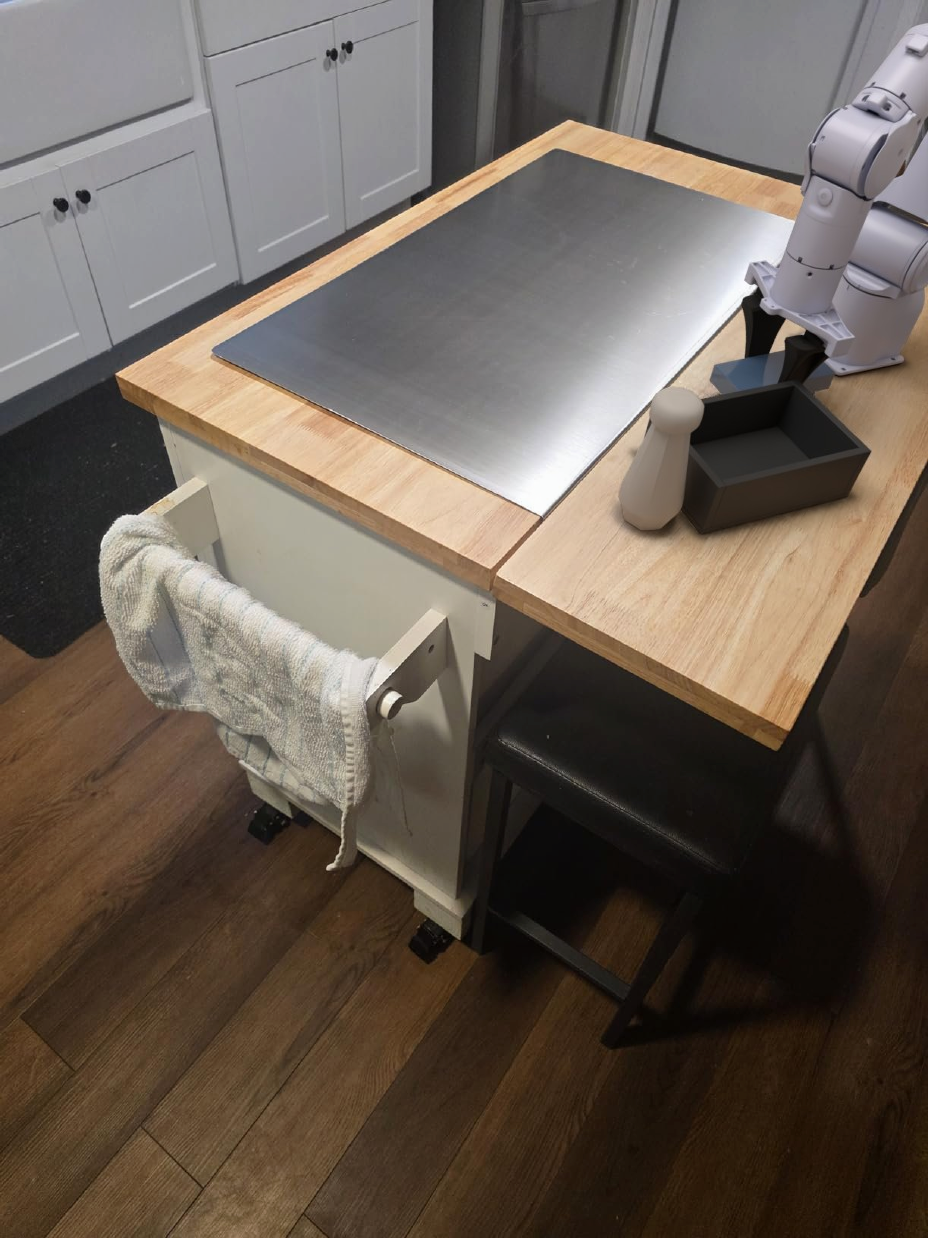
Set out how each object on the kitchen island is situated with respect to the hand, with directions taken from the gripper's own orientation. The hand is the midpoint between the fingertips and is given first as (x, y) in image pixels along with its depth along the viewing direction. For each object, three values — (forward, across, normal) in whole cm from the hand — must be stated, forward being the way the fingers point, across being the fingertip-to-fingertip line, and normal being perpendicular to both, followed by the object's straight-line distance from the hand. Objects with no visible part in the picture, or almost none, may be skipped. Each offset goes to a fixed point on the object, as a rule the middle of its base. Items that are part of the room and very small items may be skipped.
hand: (768, 378), depth 91 cm
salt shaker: (+3, +12, -21) cm, 24 cm away
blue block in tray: (+2, 0, 0) cm, 2 cm away
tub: (+3, +10, -9) cm, 14 cm away
